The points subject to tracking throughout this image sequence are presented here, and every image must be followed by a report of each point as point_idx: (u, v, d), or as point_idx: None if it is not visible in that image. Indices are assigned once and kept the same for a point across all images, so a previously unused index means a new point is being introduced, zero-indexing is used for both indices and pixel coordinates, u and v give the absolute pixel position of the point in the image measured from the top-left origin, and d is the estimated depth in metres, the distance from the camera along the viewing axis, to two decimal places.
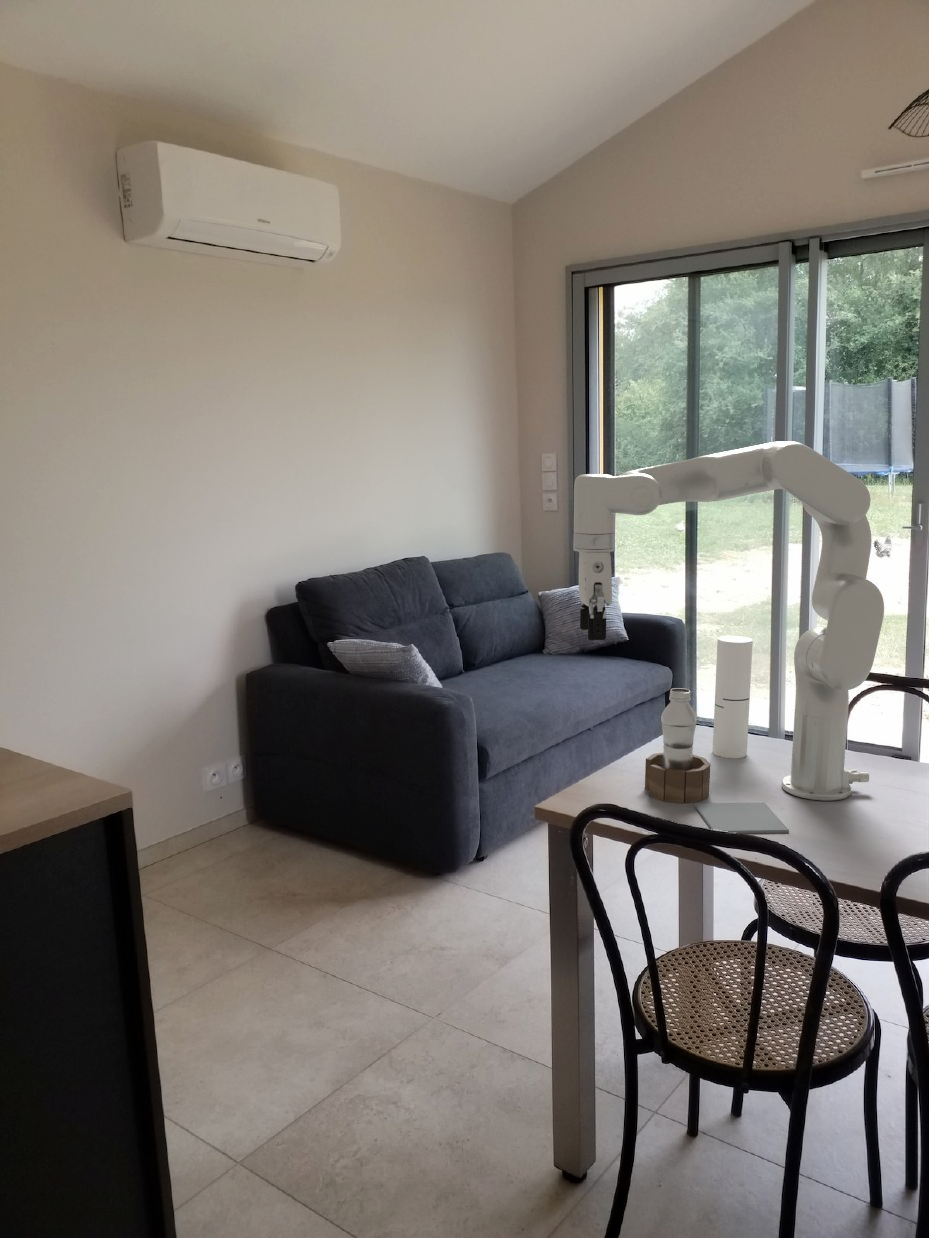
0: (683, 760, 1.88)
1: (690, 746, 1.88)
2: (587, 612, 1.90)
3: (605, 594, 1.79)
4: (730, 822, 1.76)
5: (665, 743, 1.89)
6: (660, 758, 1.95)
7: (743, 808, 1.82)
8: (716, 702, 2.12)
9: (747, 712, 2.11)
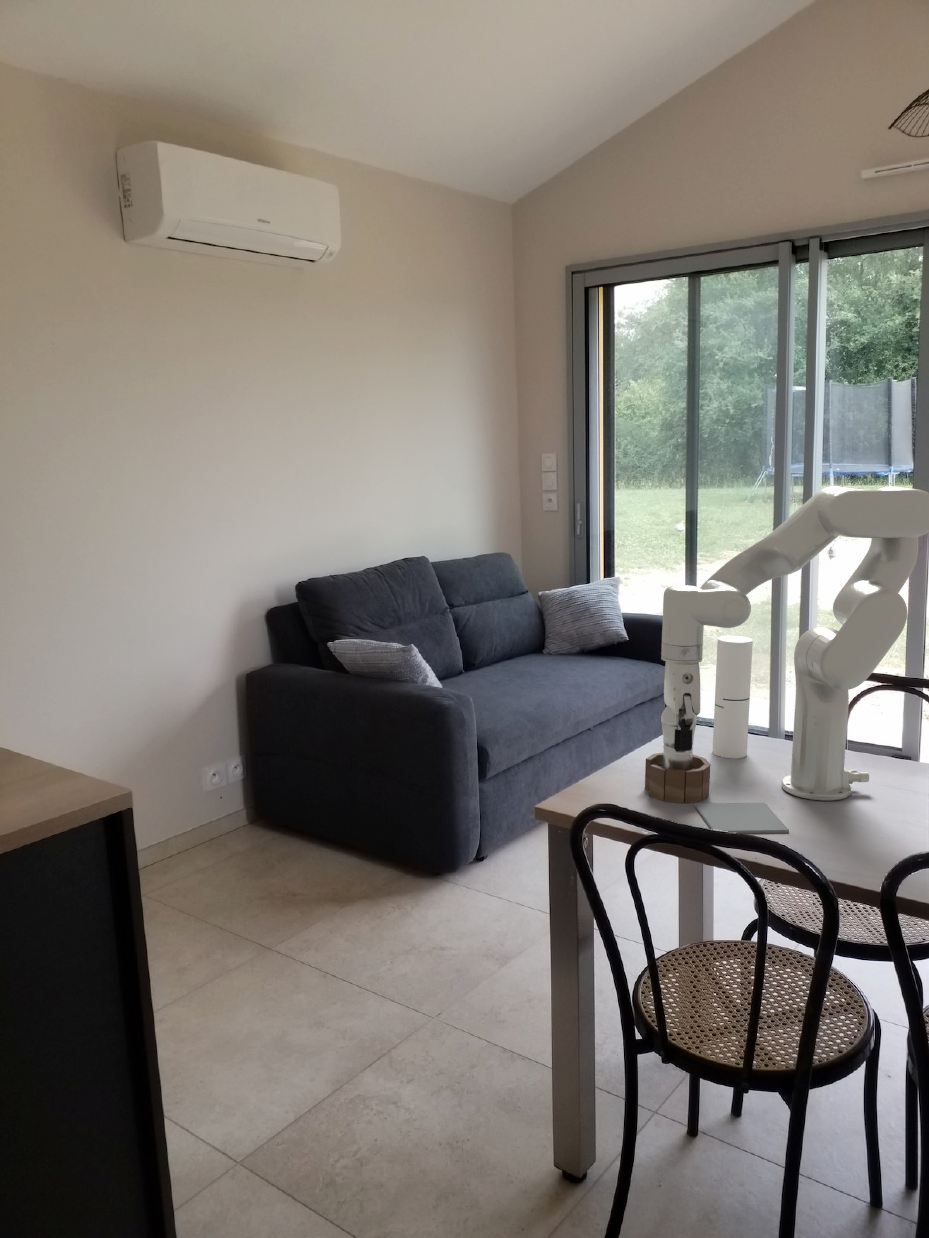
0: (683, 760, 1.88)
1: None
2: None
3: (694, 704, 1.84)
4: (730, 822, 1.76)
5: (665, 743, 1.89)
6: (660, 758, 1.95)
7: (743, 808, 1.82)
8: (716, 702, 2.12)
9: (747, 712, 2.11)
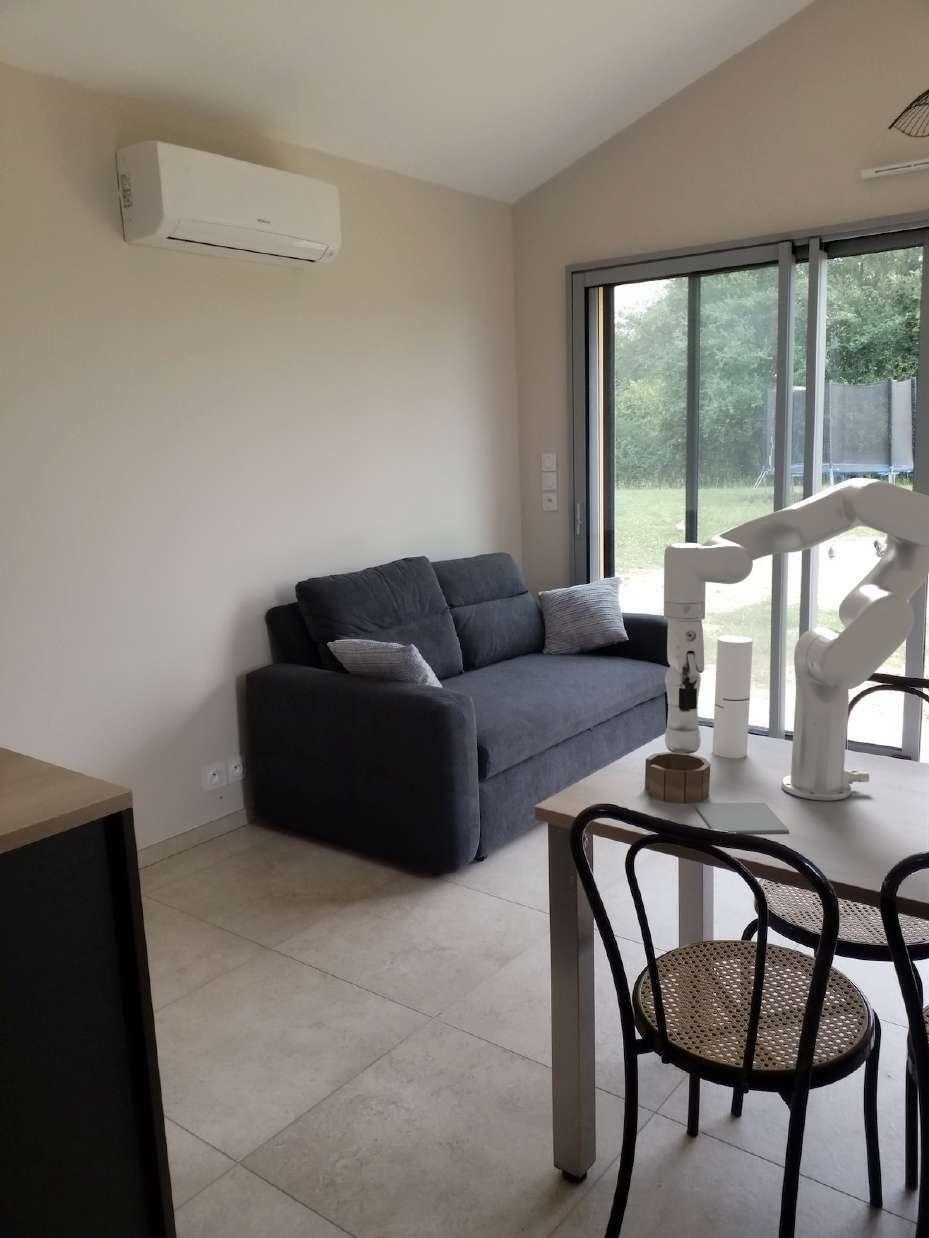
0: (688, 720, 1.87)
1: None
2: None
3: (698, 662, 1.82)
4: (730, 822, 1.76)
5: (670, 703, 1.88)
6: (660, 758, 1.95)
7: (743, 808, 1.82)
8: (716, 702, 2.12)
9: (747, 712, 2.11)
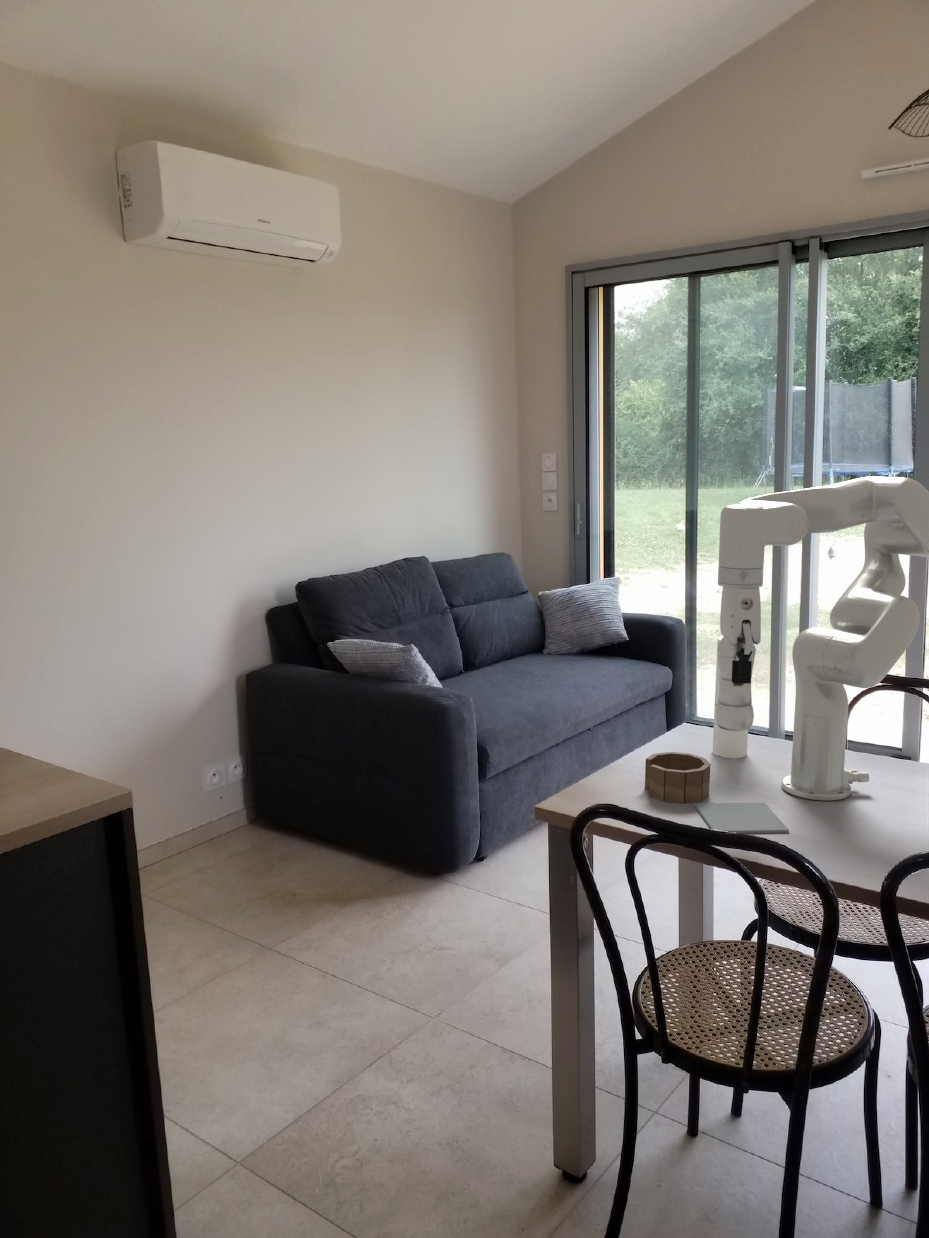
0: (740, 695, 1.74)
1: None
2: None
3: (754, 632, 1.69)
4: (730, 822, 1.76)
5: (721, 676, 1.75)
6: (660, 758, 1.95)
7: (743, 808, 1.82)
8: (716, 702, 2.12)
9: None
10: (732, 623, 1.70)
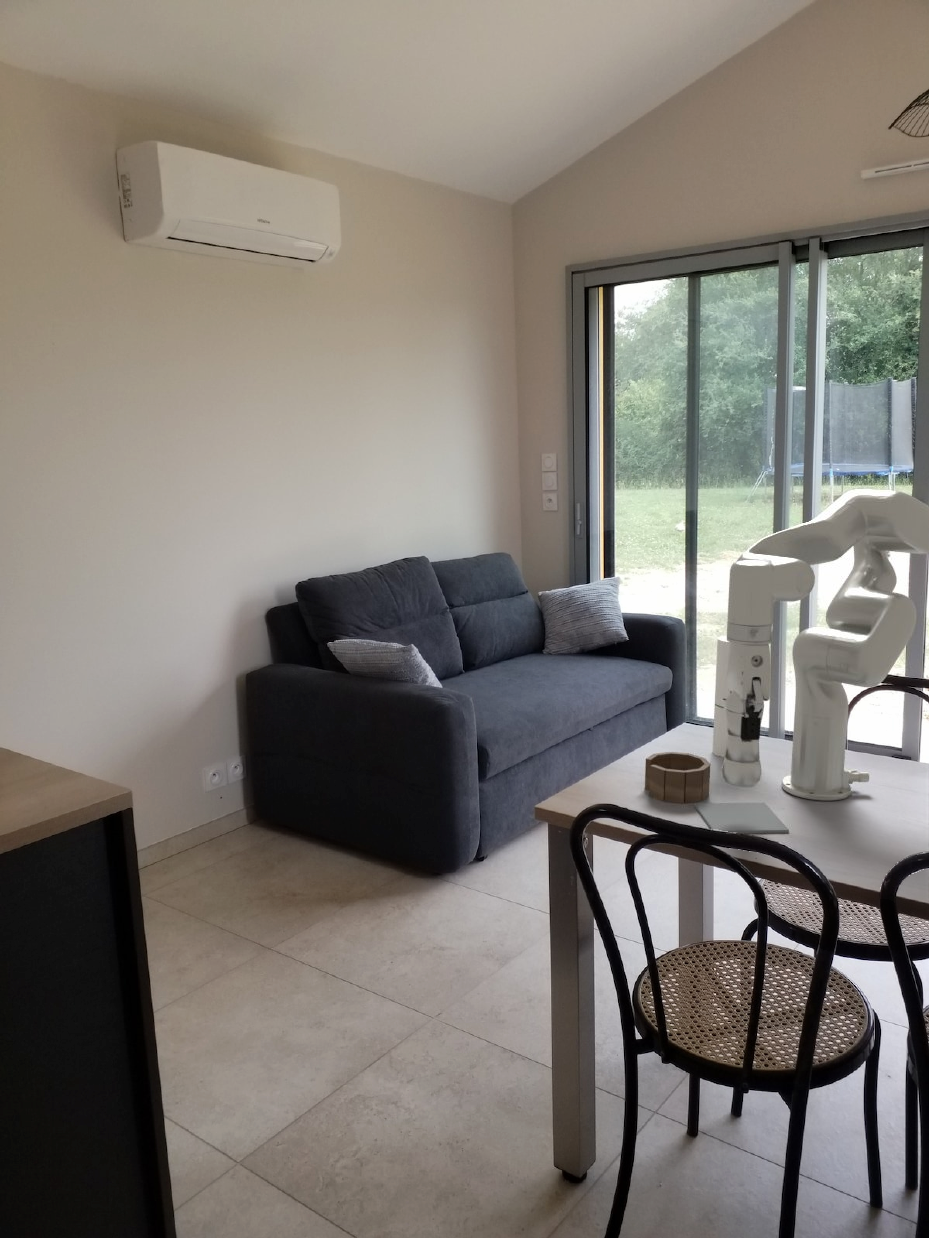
0: (749, 750, 1.73)
1: None
2: None
3: (764, 689, 1.69)
4: (730, 822, 1.76)
5: (729, 732, 1.75)
6: (660, 758, 1.95)
7: (743, 808, 1.82)
8: (716, 702, 2.12)
9: None
10: (742, 680, 1.69)
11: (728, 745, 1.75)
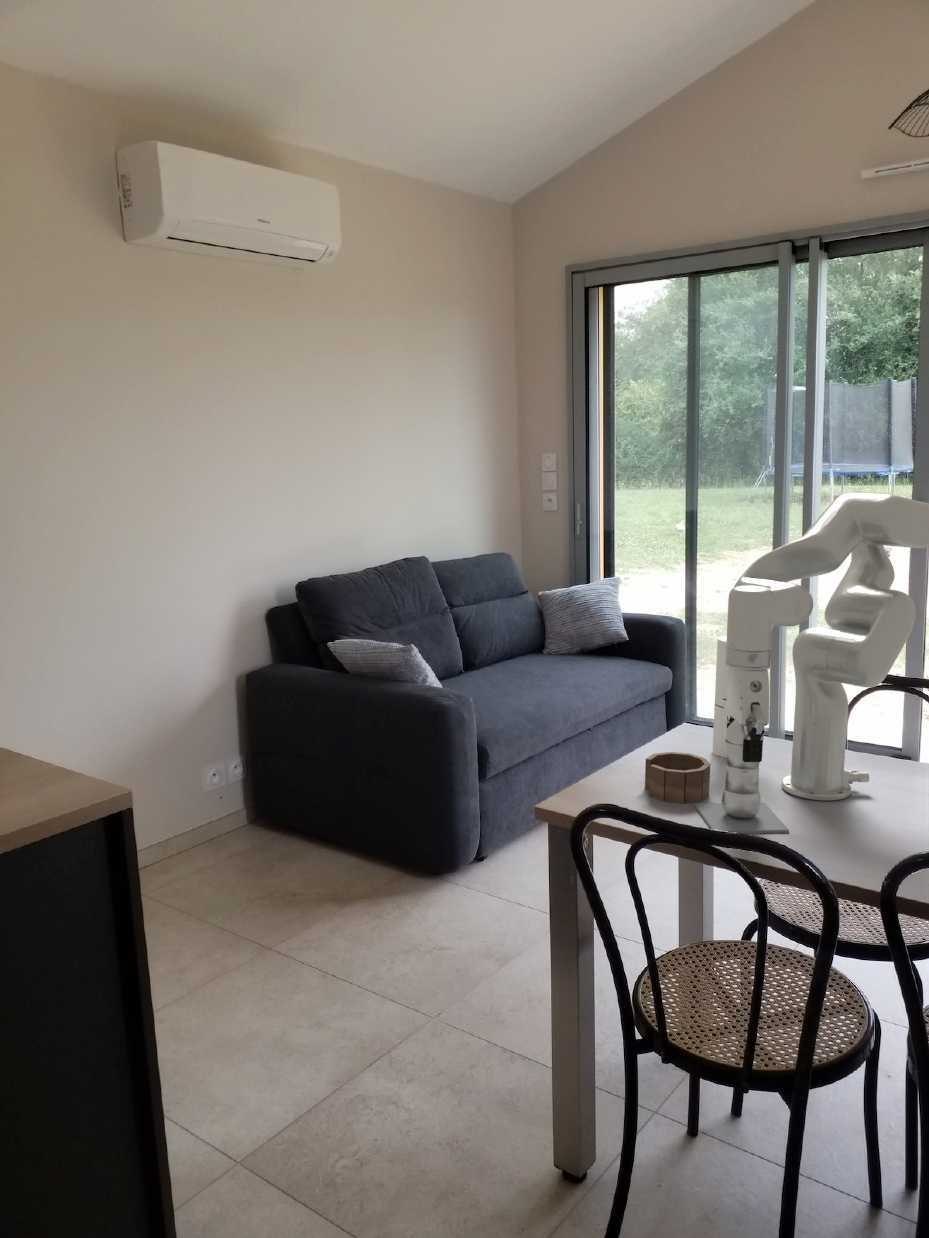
0: (748, 782, 1.75)
1: (756, 767, 1.75)
2: None
3: (762, 714, 1.70)
4: (730, 822, 1.76)
5: (729, 763, 1.76)
6: (660, 758, 1.95)
7: None
8: (716, 702, 2.12)
9: None
10: (741, 705, 1.70)
11: (728, 776, 1.77)
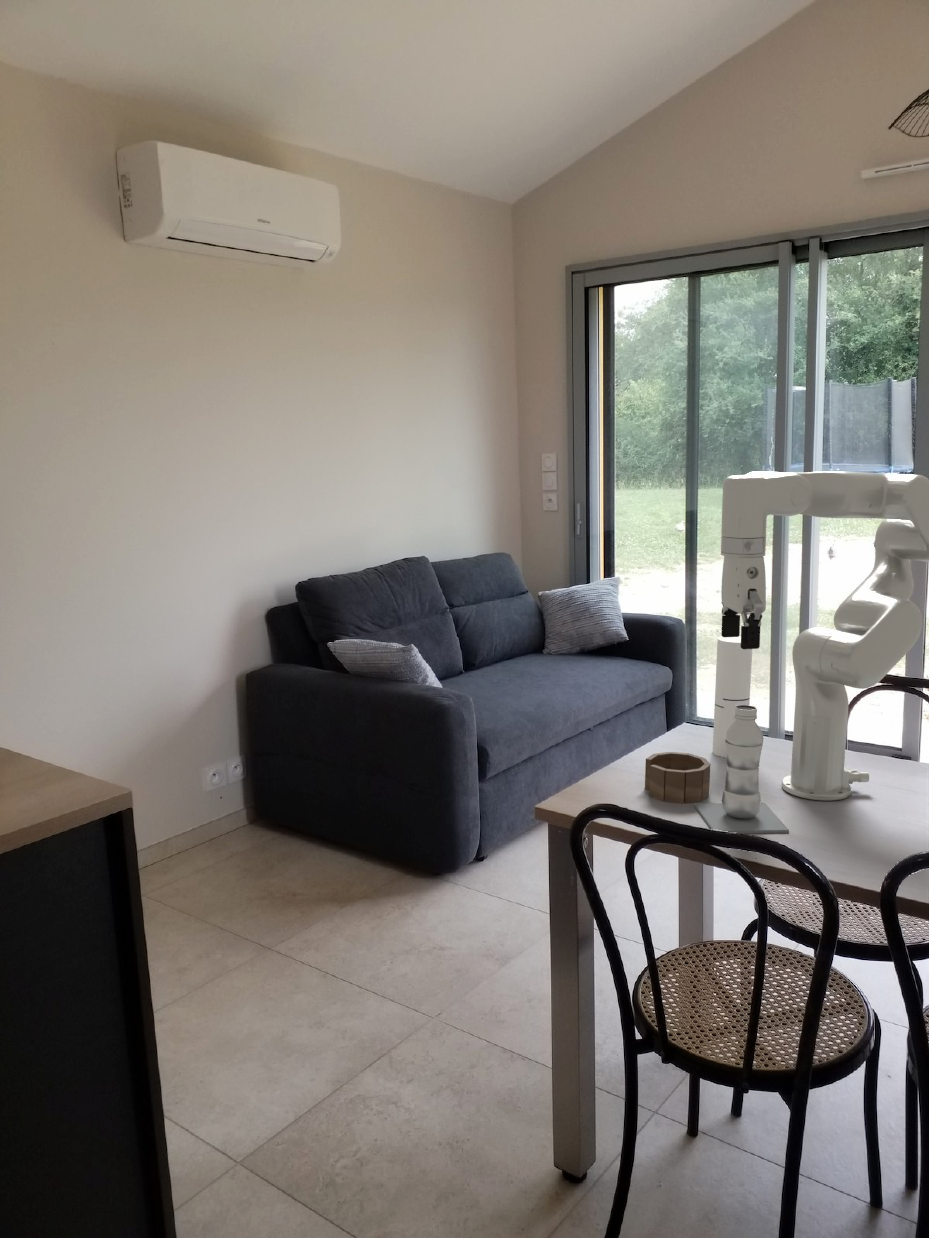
0: (748, 782, 1.75)
1: (756, 767, 1.75)
2: (730, 619, 1.81)
3: None
4: (730, 822, 1.76)
5: (729, 764, 1.76)
6: (660, 758, 1.95)
7: None
8: (716, 702, 2.12)
9: None
10: (738, 592, 1.72)
11: (728, 777, 1.77)
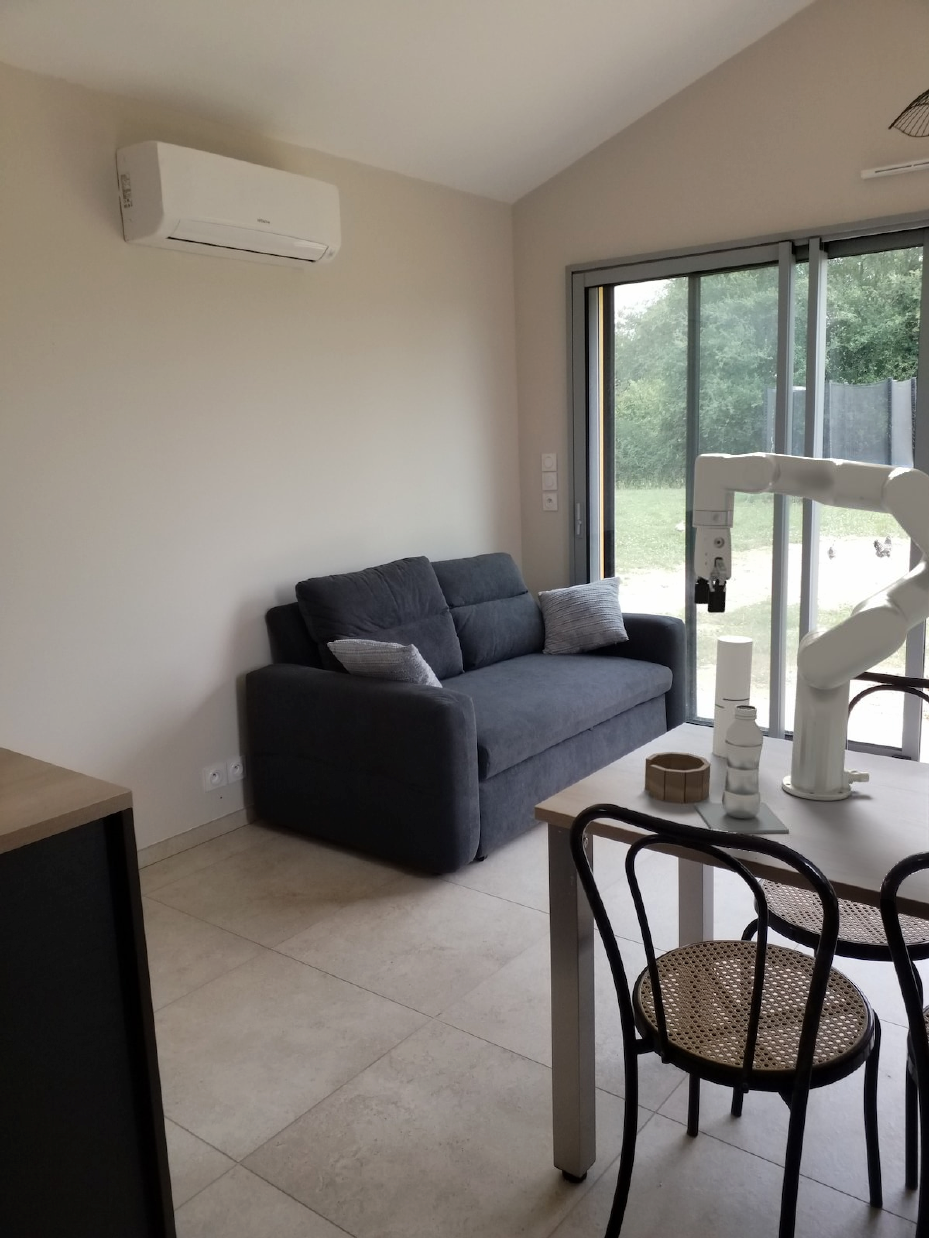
0: (748, 782, 1.75)
1: (756, 767, 1.75)
2: (702, 587, 1.98)
3: (725, 568, 1.87)
4: (730, 822, 1.76)
5: (729, 764, 1.76)
6: (660, 758, 1.95)
7: None
8: (716, 702, 2.12)
9: None
10: (706, 560, 1.88)
11: (728, 777, 1.77)
